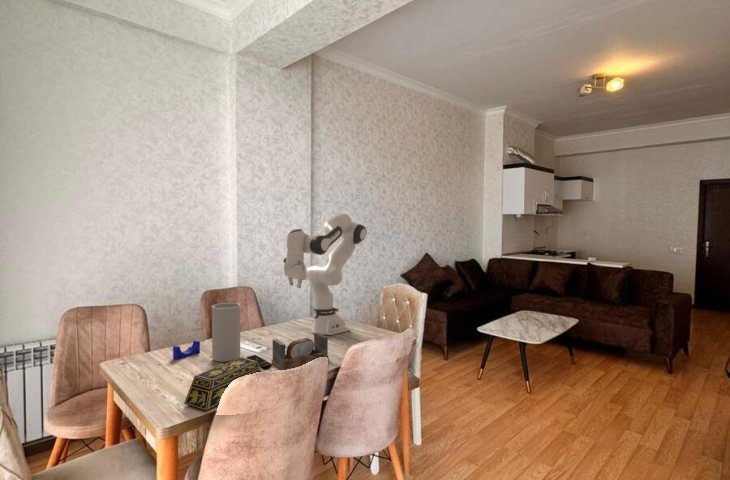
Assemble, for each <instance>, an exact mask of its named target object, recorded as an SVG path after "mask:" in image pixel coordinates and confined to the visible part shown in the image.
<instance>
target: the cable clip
mask: <svg viewBox="0 0 730 480" xmlns="http://www.w3.org/2000/svg"><path fill="white" fill-rule="evenodd" d="M200 347H201V341H200V340H197V339H195V340H193V341H192V346H191V345H190V346H189V347H188V348H187V349H186V350H184V351H182V350H181V346H179V345H173V346H172V349H173V350H172V358H173V360H176V361H178V360H179V361H180V360H181V359H185V358H187V357H191V356H193V355H194V356H195V355H197V354H201V353H200V352H201V348H200Z"/></svg>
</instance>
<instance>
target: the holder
mask: <svg viewBox="0 0 730 480" xmlns="http://www.w3.org/2000/svg"><path fill="white" fill-rule="evenodd" d="M328 340H329V337H328V336H327V335H325V334H320V333H318V332H317V333H313V342H314V348H313V352H312V353H311V354H310V355H308V356H303V357H298V358H293V359H289V358H288V357H287V355H286V343H283V341H281V340H279V339H278V338H274V339H272V358H271V365H272V366H274V367H275V368H277V370H279V371H284V370H290V369H294V367H295V368H298V366H299V367H302V366H301V365H303V364H306V363H308V362H310V361H312V360H314V359H316V358H319V357H327V358H328V361H330V359H329V351H328V350H329V349H328V348H329V347H328V343H329V342H328ZM289 368H290V369H289Z"/></svg>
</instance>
